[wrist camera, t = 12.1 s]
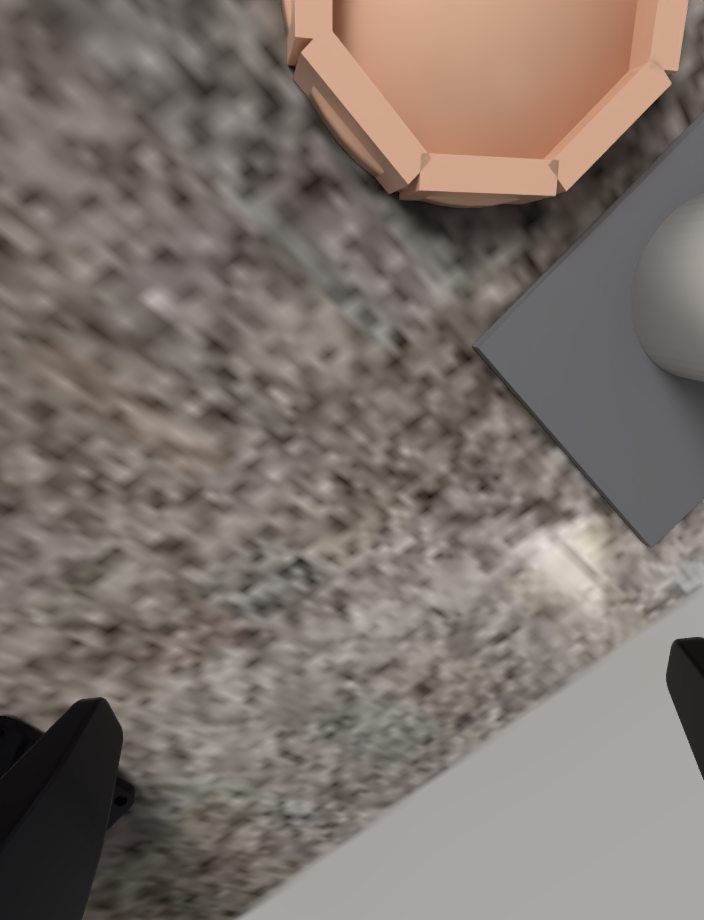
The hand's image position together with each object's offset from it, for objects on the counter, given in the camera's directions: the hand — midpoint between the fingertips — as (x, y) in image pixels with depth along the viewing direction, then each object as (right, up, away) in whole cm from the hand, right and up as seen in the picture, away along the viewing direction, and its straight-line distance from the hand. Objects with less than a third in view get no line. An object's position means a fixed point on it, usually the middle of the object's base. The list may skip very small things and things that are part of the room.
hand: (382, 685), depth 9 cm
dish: (+3, +18, +9) cm, 20 cm away
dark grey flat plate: (+14, +10, +13) cm, 21 cm away
